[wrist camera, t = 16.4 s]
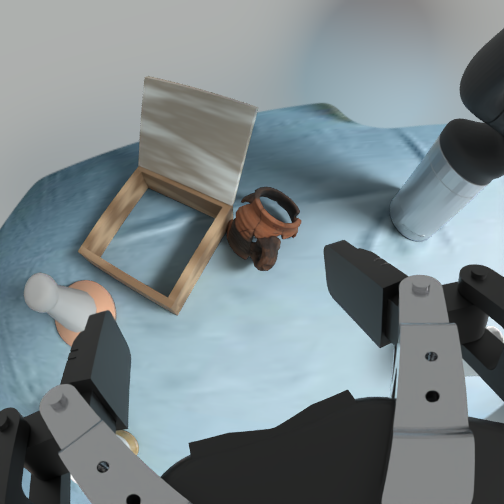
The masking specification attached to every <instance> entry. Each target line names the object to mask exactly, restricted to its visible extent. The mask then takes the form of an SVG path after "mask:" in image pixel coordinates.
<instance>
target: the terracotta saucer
mask: <svg viewBox="0 0 504 504" xmlns="http://www.w3.org/2000/svg"><path fill="white" fill-rule="evenodd" d="M69 287H70V288H74V289H78V290H82V291H85V292H87V293H88V294H89V295H90V296H91V297H92V298H93V299H94V301H95V305H96V308H97V310H96V313H99V312H102V311H106V310H109V311H110V312H111V313H112V315H113V317H114V319H115V321H116V307H115V303H114V300H113V298H112V296H111V295H110V293H109V292H108V291H107V290H106V289H105V288H104V287H102V286H101V285H100V284H98V283H96V282H93V281H89V280H83V281H78V282H76V283H73V284H72V285H70V286H69ZM55 323H56V327H57V330H58V332H59V334H60V336H61V338H62V339H63V340H64V341H65V342H66V343H67V344H69V345H70V346H72V344H73V341H74V340H75V338H76V337H77V336H78V335H79V333H80V332H73V331H70V330H68V329H66V328H65V327H64V326H63V325H61V324H60V323H59V322H58V321H56V320H55Z"/></svg>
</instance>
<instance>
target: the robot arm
mask: <svg viewBox="0 0 504 504" xmlns="http://www.w3.org/2000/svg"><path fill="white" fill-rule="evenodd" d="M460 96H461V99H462V102H463V104H464V105H465V107H466V108H467V109H468V110H470V112H471V113H473V114H474V115H475V116H476V117H477V118H479V119H480V120H482V121H483V122H484V123H480V122H475V121H471V120H467V119H454V120H452V121H450V122H449V123H448V124H447V125H446V127H445V128H444V129H443V131H442V132H441V134H440V136H439V137H438V138H437V140H436V141H435V143H434V144H433V146H432V147H431V148H430V150H429V151H428V153H427V154H426V156H425V157H424V158H423V160H422V161H421V162H420V164H419V165H418V166H417V168H416V169H415V171H414V172H413V173H412V175H411V176H410V177H409V179H408V180H407V181H406V183H405V184H404V185H403V186H402V188H401V189H400V190H399V192H398V193H397V194H396V196H395V197H394V198H393V200H392V201H391V204H390V216H391V219H392V222H393V223H394V225H395V227H396V228H397V229H398V231H399V232H400V233H401V234H403V235H404V236H405V237H407V238H409V239H411V240H414V241H424V240H427V239H428V238H430V237H431V236H432V235H433V234H434V233H436V232H437V231H438V230H439V229H440V228H441V227H443V226H444V225H445V224H446V223H447V222H448V221H449V220H450V219H452V218H453V217H454V216H455V215H456V214H457V213H458V212H459V211H460V210H461V209H463V208H464V207H465V206H466V205H467V204H468V203H469V202H470V201H471V200H472V199H473V198H474V197H475V196H476V195H477V194H478V193H479V192H480V191H482V190H483V189H484V188H485V187H486V186H487V185H488V184H489V183H490V182H491V181H492V180H493V179H496V178H499V177H501V176H503V175H504V29H503V30H501V31H500V32H499V33H498V34H497V35H496V36H495V37H493V38H492V39H491V40H490V41H489V42H488V43H487V44H486V45H485V46H483V48H482V49H481V50H480V51H478V53H477V54H476V55H475V56H474V57H473V59H472V60H471V61H470V63H469V64H468V66H467V68H466V70H465V72H464V74H463V76H462V79H461V83H460ZM324 260H325V270H326V280H327V287H328V290H329V292H330V294H331V296H332V298H333V299H334V300H335V301H336V302H337V303H338V304H339V305H340V306H341V307H342V308H343V309H344V310H345V311H346V313H347V314H348V315H349V316H350V317H351V318H352V319H353V320H354V321H355V322H356V323H357V324H358V325H359V326H360V327H361V328H362V330H363V331H364V332H365V333H366V334H367V335H368V336H369V337H370V338H371V339H372V340H373V341H374V342H375V343H376V345H377V346H378V347H379V348H381V347H384V346H386V345H388V344H390V343H393V344H394V354H393V367H392V378H391V388H390V397H389V398H388V397H366V398H358V399H354V397H353V396H352V395H351V393H350V392H349V390H346V391H344V392H341V393H339V394H337V395H334V396H332V397H330V398H327V399H325V400H322V401H320V402H317V403H315V404H312V405H310V406H309V407H307V408H306V409H304V410H303V411H301V412H300V413H298V414H296V415H295V416H293V417H292V418H290V419H289V420H287V421H285V422H284V423H282V424H280V425H279V426H277V427H275V428H272V429H265V430H256V431H245V432H233V433H226V434H222V435H219V436H215V437H211V438H207V439H203V440H199V441H195V442H191V443H189V448H190V454H191V455H189V456H187V457H185V458H183V459H182V460H180V461H178V462H177V463H175V464H174V465H173V466H171V467H170V468H169V469H168V470H167V471H166V472H165V473H164V474H163V475H162V476H161V477H159V476H158V475H157V474H156V473H155V472H154V471H153V470H151V469H150V468H149V467H148V466H147V465H146V464H145V463H144V462H143V461H142V460H141V459H140V458H139V457H138V456H137V455H135V454H134V453H133V452H132V451H131V450H130V449H129V448H128V447H127V446H126V445H125V444H124V443H123V441H122V440H121V439H120V438H119V437H118V436H117V435H116V431H117V430H123V429H128V408H129V385H130V369H131V354H130V350H129V347H128V345H127V342H126V341H125V339H124V337H123V335H122V333H121V331H120V329H119V327H118V325H117V323H116V321H115V319H114V317H113V315H112V313H111V312H110V311H109V310H106V311H102V312H99V313H95V314H92V315H89V317H88V320H87V323H86V326H85V330H84V331H81V332H80V333H79V335H78V336H77V337H76V338H75V340H74V341H73V344H72V347H71V350H70V351H71V353H69V356H68V361H67V363H66V366H65V370H64V373H63V376H62V380H61V384H60V385H58V386H56V387H54V388H52V389H51V390H49V391H48V392H47V393H46V394H45V395H44V397H43V398H42V400H41V402H40V407H39V409H40V411H38V412H35V413H33V414H31V415H29V416H26V417H24V418H23V416H22V415H21V414H20V413H19V412H18V411H17V410H16V409H15V408H6V409H3V410H2V411H0V504H70V479H71V475H72V477H73V478H74V480H75V481H76V482H77V484H78V485H79V487H80V488H81V490H82V491H83V492H84V494H85V495H86V496H87V498H88V499H89V500H90V502H91V503H92V504H504V423H499V422H493V421H488V420H483V419H478V418H473V417H468V409H467V395H466V385H465V376H464V367H463V360H464V361H465V362H466V363H467V364H468V365H469V366H470V367H471V368H472V369H473V370H474V371H475V372H476V373H477V374H478V375H479V376H480V377H481V378H482V379H483V380H484V381H485V382H486V383H487V384H488V385H489V386H490V387H491V389H492V390H493V391H494V392H495V393H496V394H497V395H498V396H499V397H500V398H501V399H502V400H503V401H504V343H503V342H502V341H501V340H499V339H498V338H497V337H496V336H495V335H494V334H492V333H491V332H490V331H489V330H488V329H487V328H486V324H487V321H488V317H491V318H492V319H493V320H494V321H496V322H497V323H498V324H499V325H501V326H502V327H503V329H504V277H503V276H501V275H500V274H498V273H497V272H495V271H493V270H492V269H490V268H488V267H486V266H483V265H467V266H465V267H463V268H462V269H461V270H460V274H459V281H458V282H454V283H449V284H444V285H441V283H440V282H439V281H438V280H436V279H435V278H433V277H430V276H425V275H414V276H409V277H408V276H407V275H406V274H404V273H403V272H401V271H400V270H398V269H397V268H395V267H394V266H392V265H391V264H389V263H387V262H386V261H385V260H383V259H381V258H380V257H379V256H377V255H376V254H374V253H373V252H371V251H367V250H364V249H360V248H359V249H357V248H355V247H354V246H352V245H351V244H350V243H348V242H347V241H345V240H342V241H339V242H335V243H332V244H329V245H326V246H325V247H324ZM462 359H463V360H462ZM23 468H25V469H27V470H28V471H29V472H30V473H31V482H30V492H29V499H28V498H27V497H26V496H25V494H24V492H23V490H22V476H23Z"/></svg>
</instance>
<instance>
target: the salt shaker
mask: <svg viewBox="0 0 504 504" xmlns="http://www.w3.org/2000/svg"><path fill="white" fill-rule="evenodd" d="M24 298H25V302H26V303H27V305H28V306H29V308H31V309H32V310H34V311H37V312H40V313H44V312H46V313H48V314H49V315H50V316H51V317H53V318H54V319H55V320H56V321H58V322H59V323H60V324H61V325H63V326H64V327H65V328H66V329H68V330H70V331H73V332H81V331H84V330H85V326H86V323H87V320H88V317H89V315H92V314H95V313H96V310H97V308H96V305H95V301H94V299H93V298H92V297H91V296H90V295H89V294H88V293H87V292H85V291H82V290H78V289H74V288H70V287H65V286H61V285H57V283H56V282H55V281H54V279H53V278H52V277H51V276H49V275H47V274H44V273H36V274H34V275H32V276H31V277H30V278H29V279H28V281H27V283H26V285H25V289H24Z"/></svg>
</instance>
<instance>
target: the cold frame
mask: <svg viewBox="0 0 504 504" xmlns="http://www.w3.org/2000/svg"><path fill="white" fill-rule="evenodd" d="M257 111H258V107H255V106H253V105H250V104H247V103H244V102H240V101H237V100H234V99H231V98H228V97H225V96H222V95H218V94H215V93H212V92H208V91H205V90H201V89H197V88H194V87H190V86H186V85H183V84H179V83H175V82H171V81H166V80H163V79H158V78H154V77H150V76H148V77H145V80H144V89H143V100H142V112H141V125H140V126H141V127H140V142H139V167H138V168H137V169H136V170H135V172H134V173H133V174H132V175H131V177H130V178H129V179H128V181H127V182H126V183H125V185H124V186H123V187H122V189H121V190H120V191H119V193H118V194H117V195H116V197H115V198H114V199H113V201H112V202H111V203H110V205H109V206H108V208H107V209H106V210H105V212H104V213H103V215H102V216H101V217H100V219H99V220H98V222H97V223H96V225H95V226H94V228H93V229H92V231H91V232H90V234H89V235H88V237H87V238H86V240H85V241H84V243H83V244H82V246H81V247H80V249H79V250H78V252H79V253H80V254H81V255H82V256H83V257H84V258H86V259H87V260H88V261H89V262H90V263H92V264H93V265H95V266H96V267H98V268H99V269H101V270H102V271H104V272H105V273H107V274H109V275H110V276H112V277H113V278H115V279H117V280H118V281H120V282H121V283H123V284H125V285H126V286H128V287H130V288H131V289H133V290H134V291H136V292H138V293H139V294H141V295H143V296H145V297H146V298H148V299H150V300H151V301H153V302H155V303H156V304H158V305H160V306H162V307H163V308H165V309H167V310H169V311H170V312H172V313H174V314H176V315H177V316H178V314H179V312H180V310H181V309H182V307H183V305H184V303H185V302H186V300H187V298H188V296H189V294H190V293H191V291H192V289H193V287H194V286H195V284H196V282H197V281H198V279H199V277H200V275H201V274H202V272H203V270H204V268H205V267H206V265H207V263H208V262H209V260H210V258H211V256H212V255H213V253H214V251H215V250H216V248H217V246H218V245H219V243H220V241H221V239H222V238H223V236H224V234H225V233H226V231H227V229H228V225H229V222H230V220H231V219H233V204H234V201H235V197H236V193H237V189H238V185H239V181H240V177H241V173H242V169H243V165H244V161H245V157H246V153H247V149H248V145H249V141H250V138H251V134H252V130H253V126H254V122H255V119H256V115H257ZM148 188H150V189H152V190H154V191H156V192H159V193H161V194H163V195H165V196H167V197H170V198H172V199H174V200H176V201H178V202H180V203H183V204H185V205H187V206H189V207H191V208H194V209H196V210H198V211H200V212H202V213H204V214H207V215H209V216H211V217H213V218H215V220H214V222H213V223H212V225H211V227H210V228H209V230H208V231H207V233H206V235H205V236H204V238H203V240H202V241H201V243H200V244H199V246H198V248H197V249H196V251H195V253H194V254H193V256H192V258H191V259H190V261H189V263H188V264H187V266H186V268H185V269H184V271H183V273H182V274H181V276H180V278H179V279H178V281H177V283H176V285H175V286H174V288H173V290H172V291H171V293H170V295H169V297H166V296H164V295H162V294H161V293H159V292H157V291H155V290H154V289H152V288H150V287H148V286H147V285H145V284H143V283H142V282H140V281H138V280H136V279H135V278H133V277H131V276H130V275H128V274H126V273H125V272H123V271H121V270H120V269H118V268H116V267H115V266H113V265H112V264H110V263H108V262H107V261H105V260H103V259H102V258H100V257H101V256H102V254H103V252H104V251H105V249H106V248H107V246H108V245H109V243H110V242H111V240H112V239H113V237H114V236H115V234H116V233H117V231H118V230H119V228H120V227H121V225H122V224H123V222H124V221H125V219H126V218H127V216H128V215H129V214H130V212H131V211H132V209H133V208H134V206H135V205H136V204H137V202H138V201H139V200H140V198H141V197H142V195H143V194H144V193H145V191H146V190H147V189H148Z"/></svg>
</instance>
